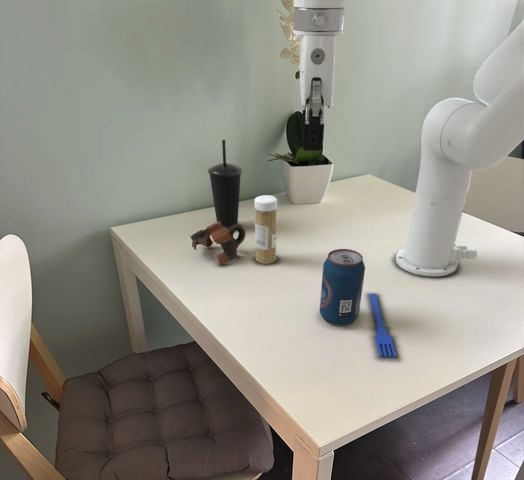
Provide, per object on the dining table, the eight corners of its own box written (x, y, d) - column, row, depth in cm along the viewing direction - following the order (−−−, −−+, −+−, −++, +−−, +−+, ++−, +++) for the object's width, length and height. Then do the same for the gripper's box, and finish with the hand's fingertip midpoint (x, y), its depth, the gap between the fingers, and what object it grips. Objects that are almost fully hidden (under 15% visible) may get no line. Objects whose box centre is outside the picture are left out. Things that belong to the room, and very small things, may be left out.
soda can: (315, 308, 93) (320, 248, 85) (352, 306, 93) (360, 246, 86) (323, 329, 87) (328, 267, 80) (362, 327, 88) (371, 265, 81)
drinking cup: (225, 218, 127) (221, 133, 115) (249, 225, 123) (248, 139, 111) (205, 228, 122) (198, 141, 110) (229, 236, 118) (226, 146, 106)
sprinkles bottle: (280, 261, 108) (281, 199, 100) (262, 266, 106) (262, 204, 98) (268, 253, 111) (269, 192, 103) (251, 258, 109) (250, 197, 101)
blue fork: (365, 295, 96) (365, 293, 96) (379, 295, 96) (379, 293, 96) (379, 357, 81) (380, 355, 81) (396, 357, 81) (396, 355, 81)
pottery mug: (210, 272, 104) (192, 236, 102) (199, 272, 113) (182, 239, 111) (259, 246, 107) (241, 210, 105) (244, 248, 116) (228, 215, 114)
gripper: (348, 27, 69) (337, 157, 79) (339, 18, 82) (330, 129, 93) (293, 27, 69) (289, 156, 79) (293, 18, 83) (289, 129, 93)
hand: (311, 141), depth 86 cm, fingers open, 9 cm apart
